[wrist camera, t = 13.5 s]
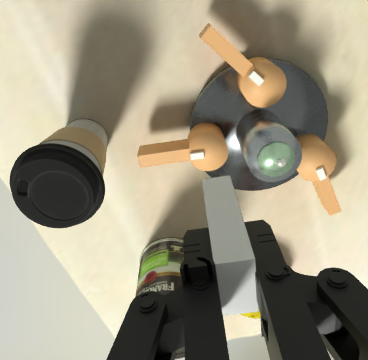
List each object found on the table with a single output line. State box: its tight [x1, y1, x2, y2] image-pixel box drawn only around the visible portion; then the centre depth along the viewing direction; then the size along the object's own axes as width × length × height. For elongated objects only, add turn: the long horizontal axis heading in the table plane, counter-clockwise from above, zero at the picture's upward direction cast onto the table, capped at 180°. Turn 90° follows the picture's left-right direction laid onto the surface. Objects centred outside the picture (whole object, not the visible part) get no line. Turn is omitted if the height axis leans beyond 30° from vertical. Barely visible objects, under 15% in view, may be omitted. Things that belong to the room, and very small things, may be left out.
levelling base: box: [190, 58, 328, 191], centre depth 42 cm, size 18×18×11 cm
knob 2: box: [199, 23, 287, 108], centre depth 39 cm, size 11×5×5 cm, turn 50°
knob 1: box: [137, 122, 228, 171], centre depth 44 cm, size 11×5×5 cm, turn 98°
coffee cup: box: [10, 119, 108, 228], centre depth 40 cm, size 9×9×15 cm
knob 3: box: [296, 133, 341, 216], centre depth 46 cm, size 11×5×5 cm, turn 28°
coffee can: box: [136, 238, 185, 359], centre depth 51 cm, size 10×10×14 cm
